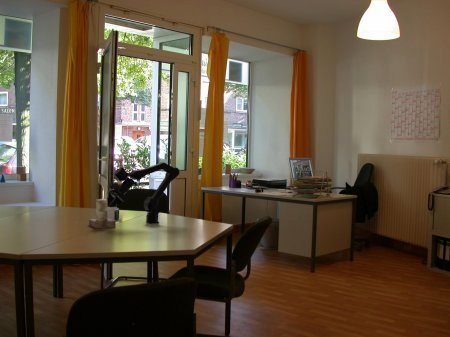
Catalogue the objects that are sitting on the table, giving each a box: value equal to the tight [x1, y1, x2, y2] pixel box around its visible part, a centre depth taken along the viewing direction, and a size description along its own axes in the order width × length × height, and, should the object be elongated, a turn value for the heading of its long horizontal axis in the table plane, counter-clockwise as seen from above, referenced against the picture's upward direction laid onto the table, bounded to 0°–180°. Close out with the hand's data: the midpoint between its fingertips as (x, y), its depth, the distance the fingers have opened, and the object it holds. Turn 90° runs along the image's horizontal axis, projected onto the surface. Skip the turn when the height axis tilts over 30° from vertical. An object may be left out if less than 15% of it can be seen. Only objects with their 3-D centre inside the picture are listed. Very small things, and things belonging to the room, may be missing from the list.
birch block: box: [95, 198, 108, 221], centre depth 281 cm, size 5×5×12 cm
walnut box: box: [88, 218, 117, 230], centre depth 282 cm, size 12×12×4 cm
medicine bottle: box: [107, 202, 120, 222], centre depth 303 cm, size 7×7×12 cm
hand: (107, 205), depth 283 cm, fingers open, 9 cm apart
